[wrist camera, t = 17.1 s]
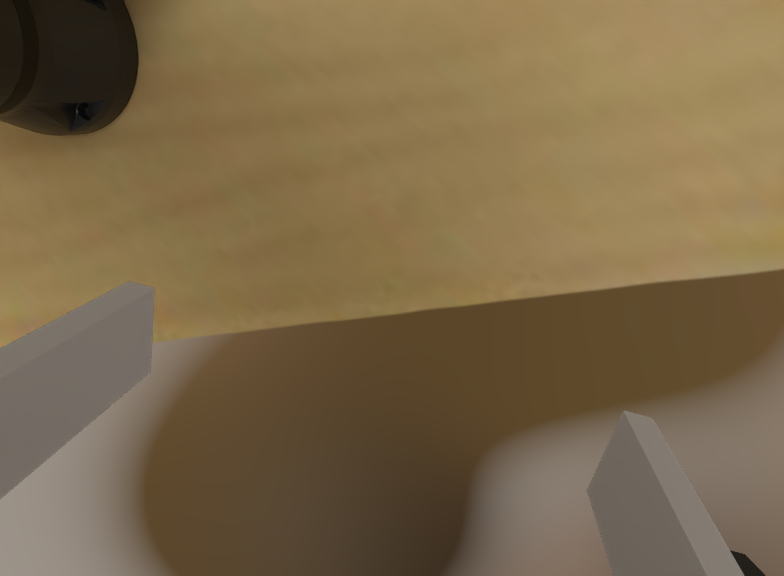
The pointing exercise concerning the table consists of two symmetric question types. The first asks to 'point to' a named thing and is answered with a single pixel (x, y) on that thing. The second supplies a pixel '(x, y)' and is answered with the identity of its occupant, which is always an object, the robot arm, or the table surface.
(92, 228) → the table surface
